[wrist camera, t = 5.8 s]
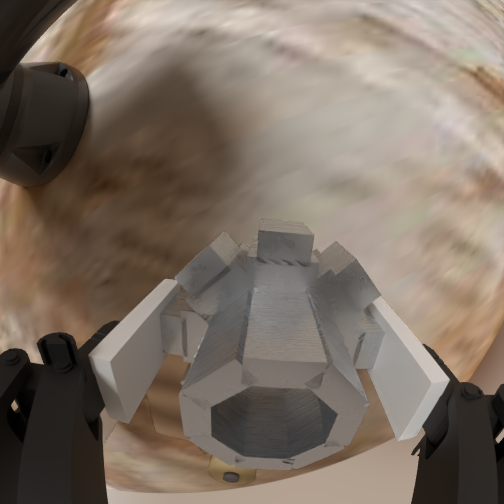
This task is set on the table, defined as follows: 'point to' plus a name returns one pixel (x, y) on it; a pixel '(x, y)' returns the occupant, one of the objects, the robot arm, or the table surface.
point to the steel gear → (272, 347)
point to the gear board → (170, 421)
